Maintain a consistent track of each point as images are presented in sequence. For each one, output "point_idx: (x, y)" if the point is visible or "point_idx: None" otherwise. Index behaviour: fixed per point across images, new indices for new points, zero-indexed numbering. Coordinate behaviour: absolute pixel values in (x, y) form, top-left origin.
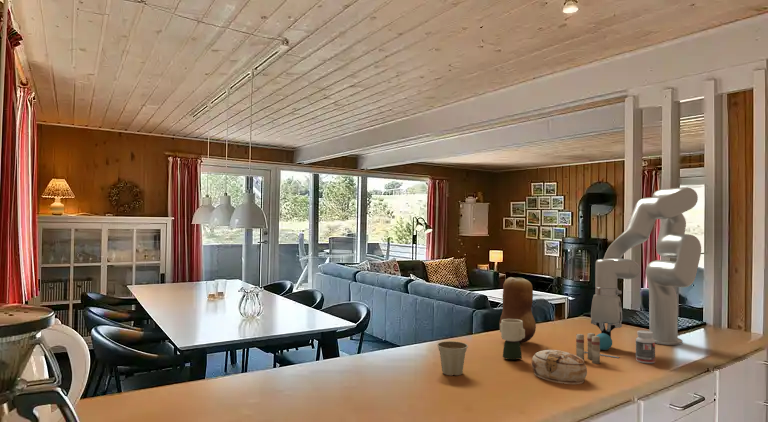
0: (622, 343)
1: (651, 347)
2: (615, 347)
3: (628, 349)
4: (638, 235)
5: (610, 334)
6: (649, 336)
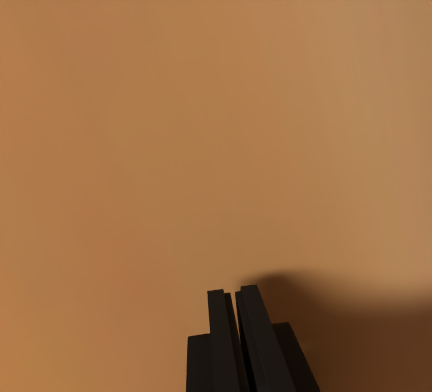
0: (304, 8)
1: None
2: (300, 248)
3: (411, 234)
4: None
5: (310, 385)
6: None
